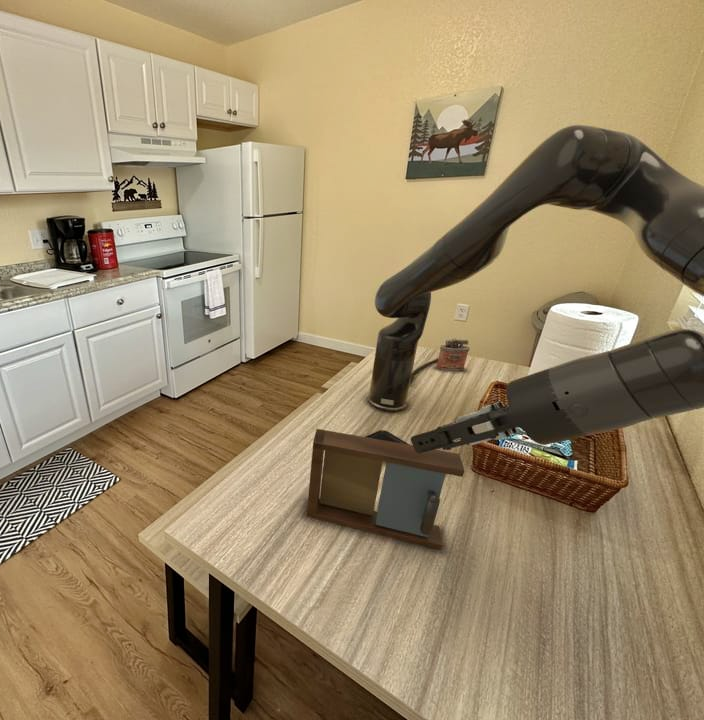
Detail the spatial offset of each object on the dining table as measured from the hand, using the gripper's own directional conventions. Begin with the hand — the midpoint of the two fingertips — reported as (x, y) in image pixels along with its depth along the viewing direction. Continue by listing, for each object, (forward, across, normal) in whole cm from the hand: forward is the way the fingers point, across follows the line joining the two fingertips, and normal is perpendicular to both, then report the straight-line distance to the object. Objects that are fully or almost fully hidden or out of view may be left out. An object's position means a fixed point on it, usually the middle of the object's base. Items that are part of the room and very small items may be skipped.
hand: (429, 439), depth 52 cm
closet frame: (+19, -5, +11) cm, 22 cm away
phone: (+21, -25, +3) cm, 33 cm away
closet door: (+14, -5, +13) cm, 20 cm away
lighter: (+25, -76, -15) cm, 81 cm away
